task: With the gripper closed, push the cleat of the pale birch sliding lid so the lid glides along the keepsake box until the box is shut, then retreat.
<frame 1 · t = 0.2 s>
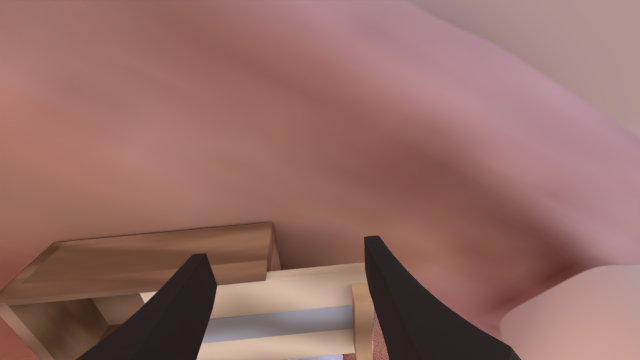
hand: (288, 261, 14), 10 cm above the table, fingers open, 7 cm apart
keepsake box: (183, 279, 27), on the table
lid: (267, 330, 22), point 6 cm above the table, slide at 8.0 cm
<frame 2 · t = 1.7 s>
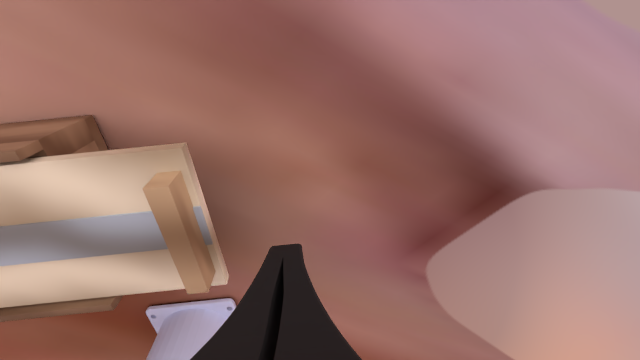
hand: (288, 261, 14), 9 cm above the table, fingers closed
keepsake box: (1, 202, 21), on the table
lid: (58, 245, 16), point 6 cm above the table, slide at 8.0 cm
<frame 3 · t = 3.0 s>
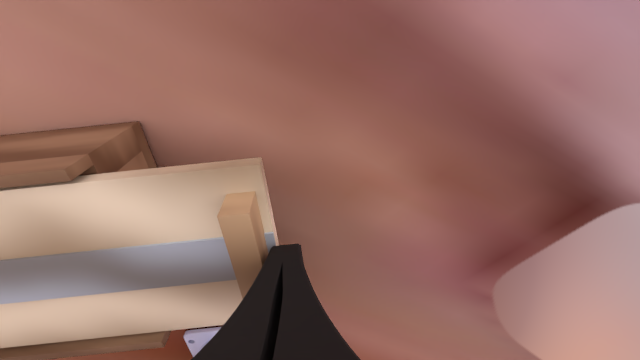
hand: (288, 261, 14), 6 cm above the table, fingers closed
keepsake box: (29, 220, 19), on the table
lid: (103, 278, 14), point 6 cm above the table, slide at 7.8 cm, touching gripper
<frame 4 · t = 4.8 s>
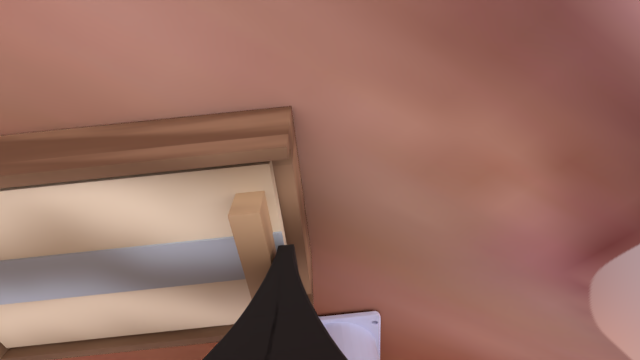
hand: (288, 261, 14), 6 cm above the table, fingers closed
keepsake box: (160, 207, 19), on the table
lid: (111, 277, 14), point 6 cm above the table, slide at -0.1 cm, touching gripper
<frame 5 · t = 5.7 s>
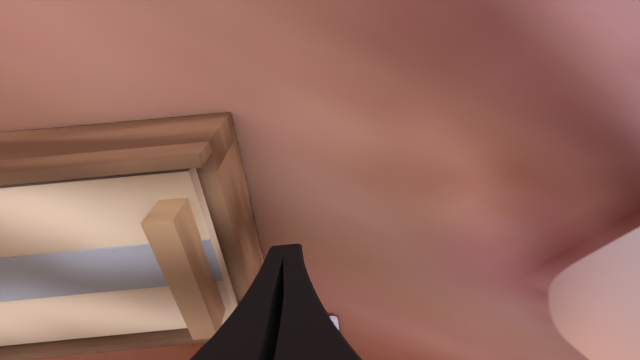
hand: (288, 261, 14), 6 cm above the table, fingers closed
keepsake box: (107, 210, 19), on the table
lid: (39, 282, 14), point 6 cm above the table, slide at 0.0 cm
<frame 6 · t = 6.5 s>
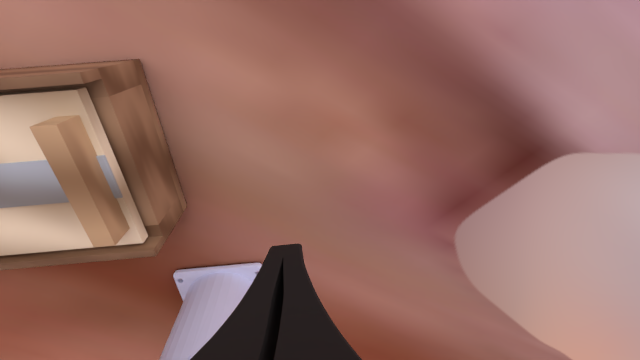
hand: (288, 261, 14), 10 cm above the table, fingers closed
keepsake box: (37, 151, 21), on the table
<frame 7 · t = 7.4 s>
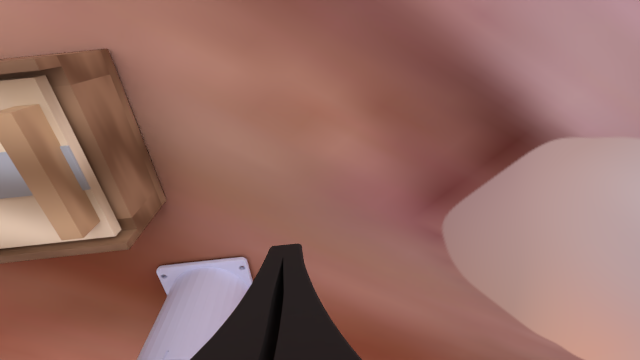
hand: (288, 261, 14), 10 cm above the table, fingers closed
keepsake box: (11, 147, 21), on the table
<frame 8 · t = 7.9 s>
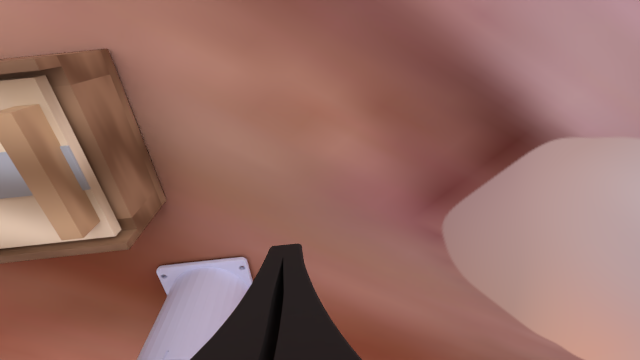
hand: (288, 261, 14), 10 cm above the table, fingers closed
keepsake box: (11, 147, 21), on the table
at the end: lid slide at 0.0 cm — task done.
